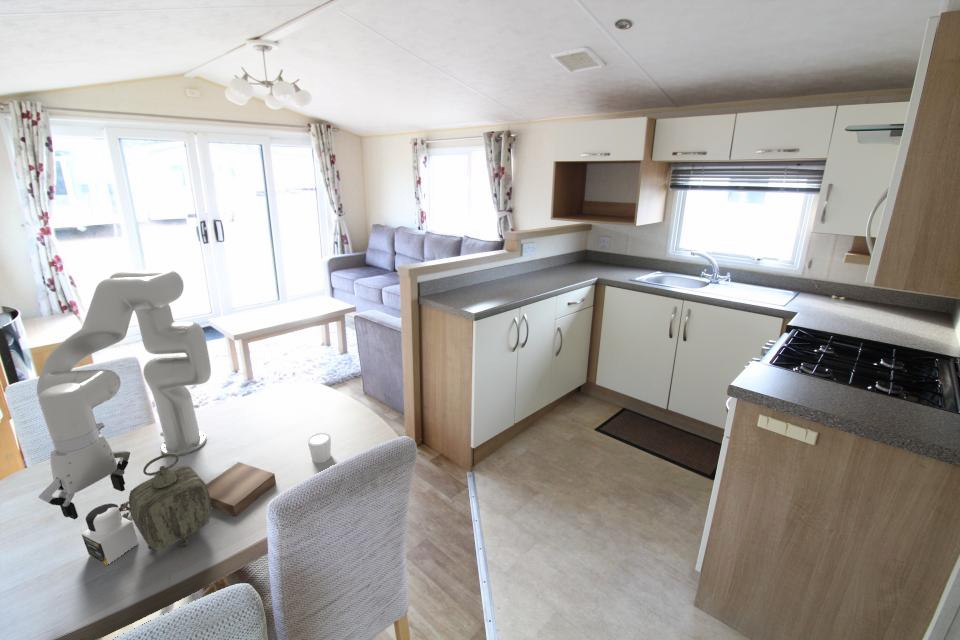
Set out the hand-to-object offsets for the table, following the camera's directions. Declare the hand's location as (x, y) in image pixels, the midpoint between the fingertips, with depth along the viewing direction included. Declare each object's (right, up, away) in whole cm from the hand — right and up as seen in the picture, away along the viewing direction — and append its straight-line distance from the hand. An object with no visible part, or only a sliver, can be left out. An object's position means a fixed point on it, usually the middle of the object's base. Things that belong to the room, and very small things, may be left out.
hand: (97, 502), depth 103 cm
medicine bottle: (0, -14, +6) cm, 15 cm away
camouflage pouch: (+14, -13, +8) cm, 21 cm away
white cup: (+37, -2, +40) cm, 55 cm away
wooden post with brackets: (-7, -11, +14) cm, 19 cm away
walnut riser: (+19, -7, +25) cm, 32 cm away
